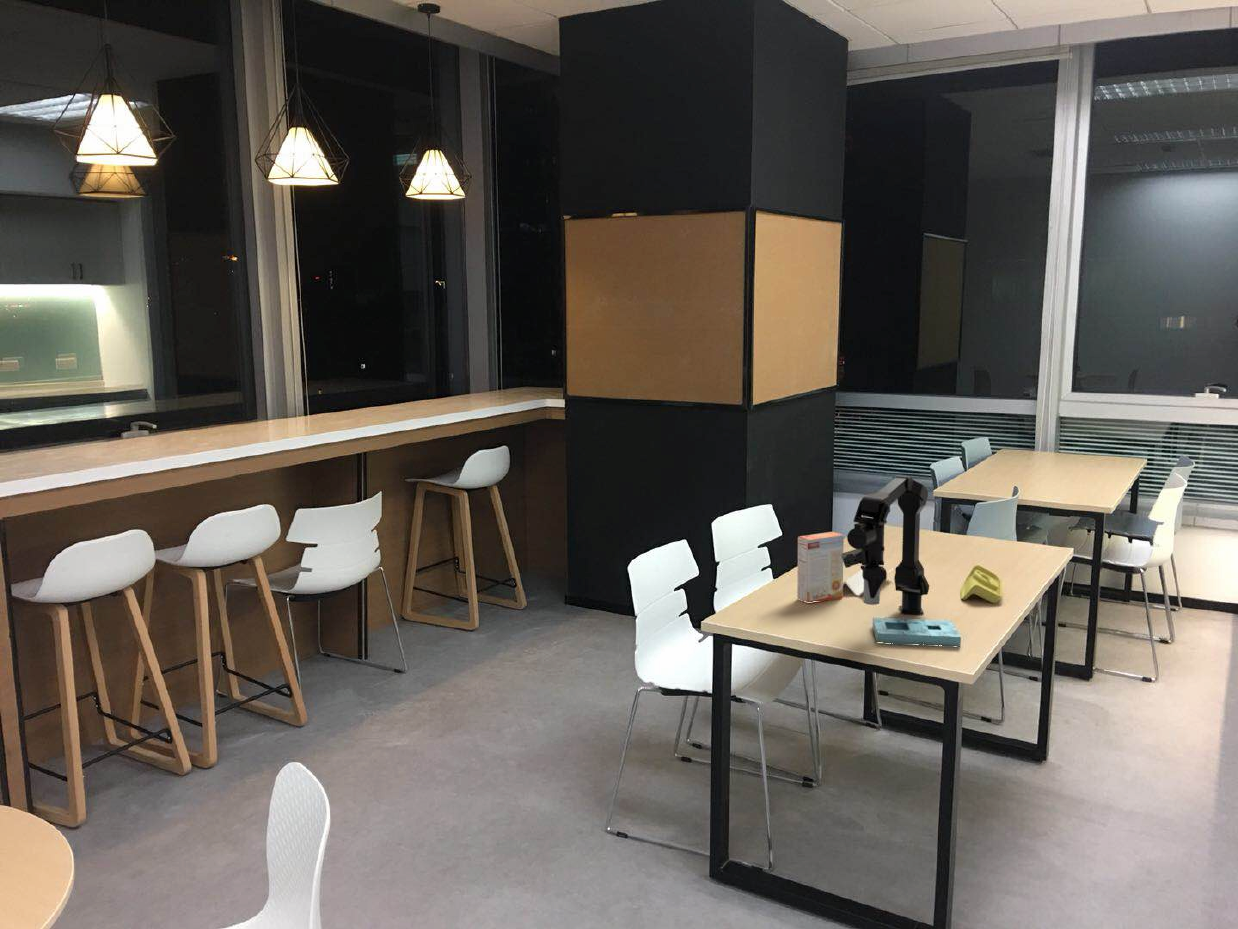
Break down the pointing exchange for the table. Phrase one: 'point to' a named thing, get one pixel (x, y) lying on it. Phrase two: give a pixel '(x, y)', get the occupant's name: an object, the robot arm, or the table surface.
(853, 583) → the z bracket
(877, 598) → the grey cylinder
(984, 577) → the plastic component
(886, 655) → the table surface
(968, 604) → the table surface
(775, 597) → the table surface
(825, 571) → the cracker box
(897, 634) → the plate
